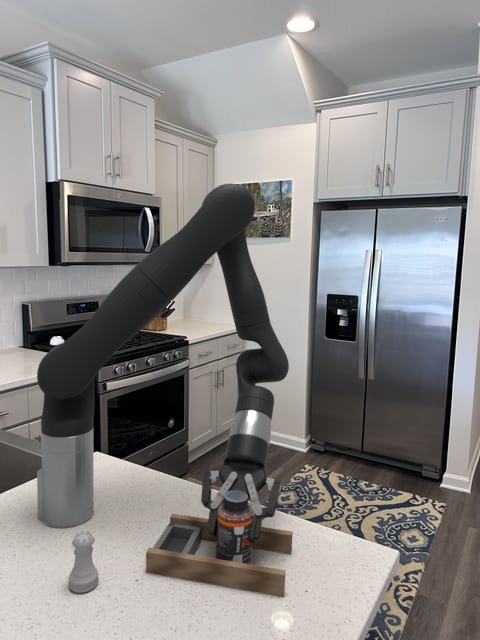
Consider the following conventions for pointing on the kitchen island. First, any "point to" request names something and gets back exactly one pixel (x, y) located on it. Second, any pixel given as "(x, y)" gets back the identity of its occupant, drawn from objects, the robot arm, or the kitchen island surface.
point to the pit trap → (179, 539)
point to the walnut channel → (223, 562)
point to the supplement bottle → (234, 528)
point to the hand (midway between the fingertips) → (232, 538)
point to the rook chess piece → (83, 564)
